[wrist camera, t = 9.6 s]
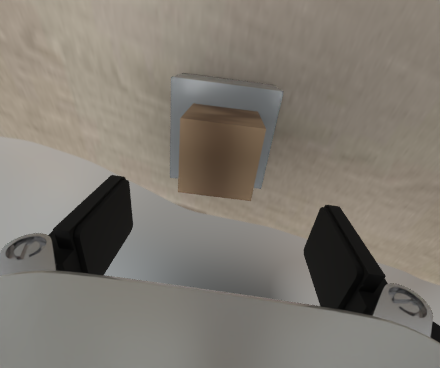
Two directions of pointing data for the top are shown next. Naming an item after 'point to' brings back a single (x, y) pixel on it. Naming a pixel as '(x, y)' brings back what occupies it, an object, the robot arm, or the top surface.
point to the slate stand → (223, 97)
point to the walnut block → (219, 151)
